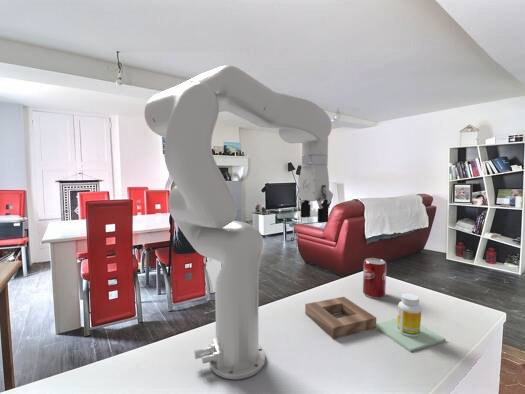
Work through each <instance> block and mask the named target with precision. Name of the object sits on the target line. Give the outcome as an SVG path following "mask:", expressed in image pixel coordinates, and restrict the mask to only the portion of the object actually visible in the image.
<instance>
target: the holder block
mask: <svg viewBox="0 0 525 394" xmlns="http://www.w3.org/2000/svg"><path fill="white" fill-rule="evenodd" d="M304 310H305V312H304V313H305V315H306V316H307V317H308V318H310V319H311V321H313V322H314V323H315V324H316V325H317V326H318V327H319V328H320V329H321V330H323V332H324V333H326V334H327V335H328V337H330V338H331V339H332V340H335V339H338V338H342V337H346V336H350V335H354V334H355V335H356V334H358V333H362V332H366V331H370V330H374V329H377V328H376V323H377V317H376V316H375V315H374V314H371V312H368V311H367V310H366V309H364V308H362V307H361V306H359V305H357V304H356V303H355V302H353V301H351V300H350V299H349V298H347V297H345V296H340V297H335V298H329V299H325V300H319V301H315V302H309V303H305V308H304ZM337 314H342V315H344V316H343V317H338V318H337V317H335V316H334V315H337Z"/></svg>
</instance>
